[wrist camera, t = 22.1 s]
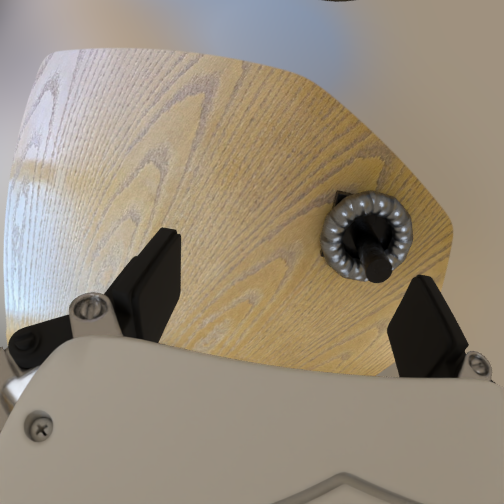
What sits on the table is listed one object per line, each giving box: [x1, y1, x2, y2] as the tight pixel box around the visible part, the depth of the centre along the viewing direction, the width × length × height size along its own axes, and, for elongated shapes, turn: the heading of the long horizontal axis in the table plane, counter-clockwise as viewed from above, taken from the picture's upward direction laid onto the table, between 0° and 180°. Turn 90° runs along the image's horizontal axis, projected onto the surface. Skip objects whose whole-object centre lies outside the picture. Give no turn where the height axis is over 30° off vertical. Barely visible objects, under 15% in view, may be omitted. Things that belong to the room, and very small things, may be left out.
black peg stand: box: [320, 190, 392, 283], centre depth 33 cm, size 9×9×10 cm
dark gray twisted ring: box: [320, 190, 413, 282], centre depth 35 cm, size 12×12×3 cm
